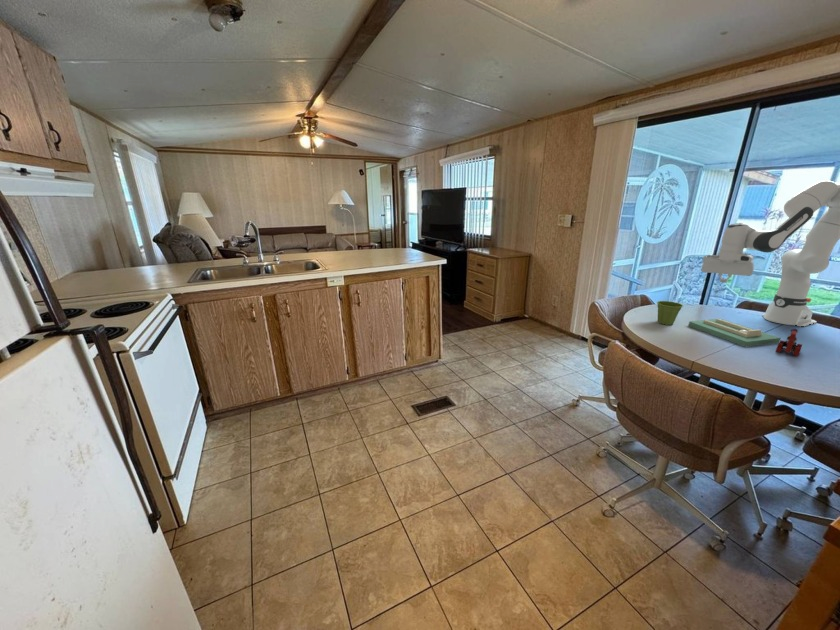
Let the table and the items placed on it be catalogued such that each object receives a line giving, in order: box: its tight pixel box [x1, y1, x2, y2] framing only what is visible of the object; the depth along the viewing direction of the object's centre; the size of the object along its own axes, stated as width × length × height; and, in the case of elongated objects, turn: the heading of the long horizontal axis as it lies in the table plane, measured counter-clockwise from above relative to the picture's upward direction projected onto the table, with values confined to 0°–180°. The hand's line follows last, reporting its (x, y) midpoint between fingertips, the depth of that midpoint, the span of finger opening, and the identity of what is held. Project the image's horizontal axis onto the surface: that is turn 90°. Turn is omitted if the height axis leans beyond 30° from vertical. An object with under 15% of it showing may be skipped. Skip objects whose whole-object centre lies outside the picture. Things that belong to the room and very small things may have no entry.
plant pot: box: [656, 300, 684, 326], centre depth 183 cm, size 12×12×11 cm
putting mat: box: [687, 318, 781, 348], centre depth 168 cm, size 28×20×6 cm
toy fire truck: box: [775, 328, 803, 357], centre depth 147 cm, size 7×12×10 cm, turn 129°
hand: (723, 282), depth 175 cm, fingers closed
